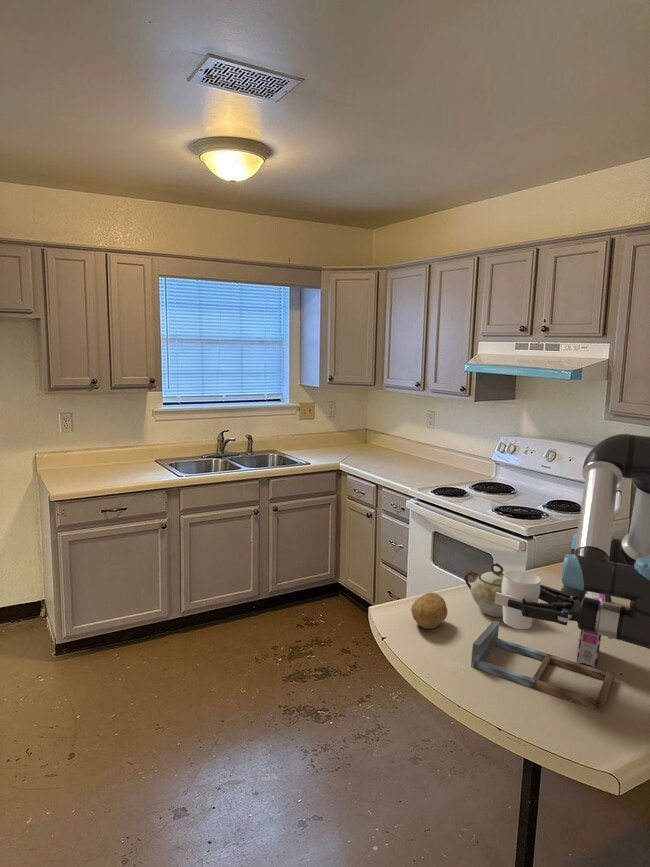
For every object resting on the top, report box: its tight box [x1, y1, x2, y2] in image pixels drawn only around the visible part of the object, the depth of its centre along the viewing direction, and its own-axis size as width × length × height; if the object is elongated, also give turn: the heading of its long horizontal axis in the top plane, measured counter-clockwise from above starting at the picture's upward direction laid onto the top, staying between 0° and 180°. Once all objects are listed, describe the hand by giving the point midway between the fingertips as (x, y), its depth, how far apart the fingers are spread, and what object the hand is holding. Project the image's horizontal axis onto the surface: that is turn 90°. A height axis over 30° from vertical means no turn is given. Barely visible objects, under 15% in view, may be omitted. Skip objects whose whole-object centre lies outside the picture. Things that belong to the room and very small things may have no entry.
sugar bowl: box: [464, 562, 505, 618], centre depth 177 cm, size 20×15×15 cm
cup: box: [502, 570, 542, 630], centre depth 146 cm, size 9×9×12 cm
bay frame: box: [470, 620, 615, 713], centre depth 144 cm, size 30×16×6 cm, turn 56°
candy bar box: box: [576, 591, 605, 669], centre depth 153 cm, size 11×5×16 cm, turn 155°
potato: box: [410, 592, 449, 630], centre depth 166 cm, size 10×14×8 cm
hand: (501, 591), depth 148 cm, fingers closed on cup, 9 cm apart
